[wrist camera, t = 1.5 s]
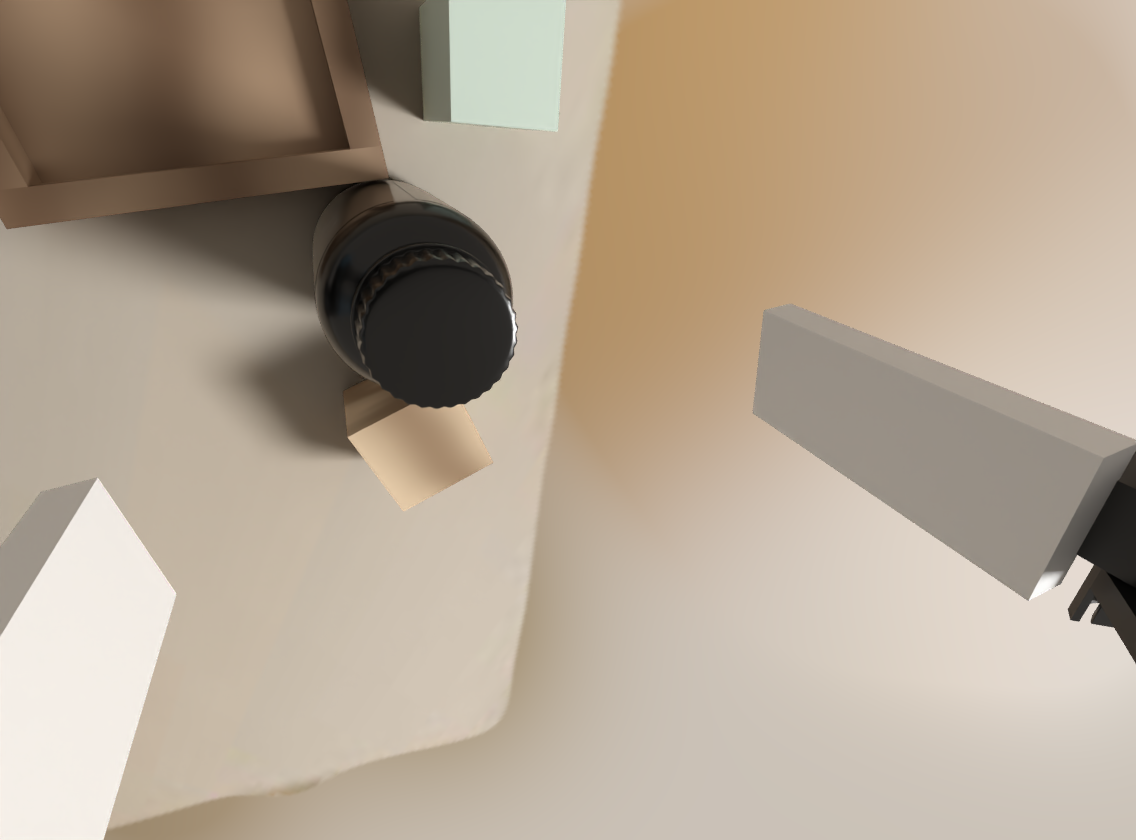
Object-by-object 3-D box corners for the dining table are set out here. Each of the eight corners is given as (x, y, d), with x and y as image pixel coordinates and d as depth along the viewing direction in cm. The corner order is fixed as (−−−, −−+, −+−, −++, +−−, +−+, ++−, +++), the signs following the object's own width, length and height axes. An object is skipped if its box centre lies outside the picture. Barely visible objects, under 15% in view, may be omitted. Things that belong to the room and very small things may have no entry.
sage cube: (423, 120, 24) (451, 121, 19) (419, 7, 22) (448, -24, 17) (511, 128, 25) (557, 131, 20) (514, 23, 23) (565, -1, 18)
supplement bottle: (383, 350, 28) (419, 478, 18) (276, 237, 23) (249, 321, 14) (490, 270, 28) (584, 353, 18) (403, 144, 24) (463, 163, 14)
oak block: (392, 459, 31) (403, 511, 27) (342, 390, 28) (347, 437, 24) (470, 418, 31) (493, 462, 27) (430, 346, 28) (449, 384, 24)
